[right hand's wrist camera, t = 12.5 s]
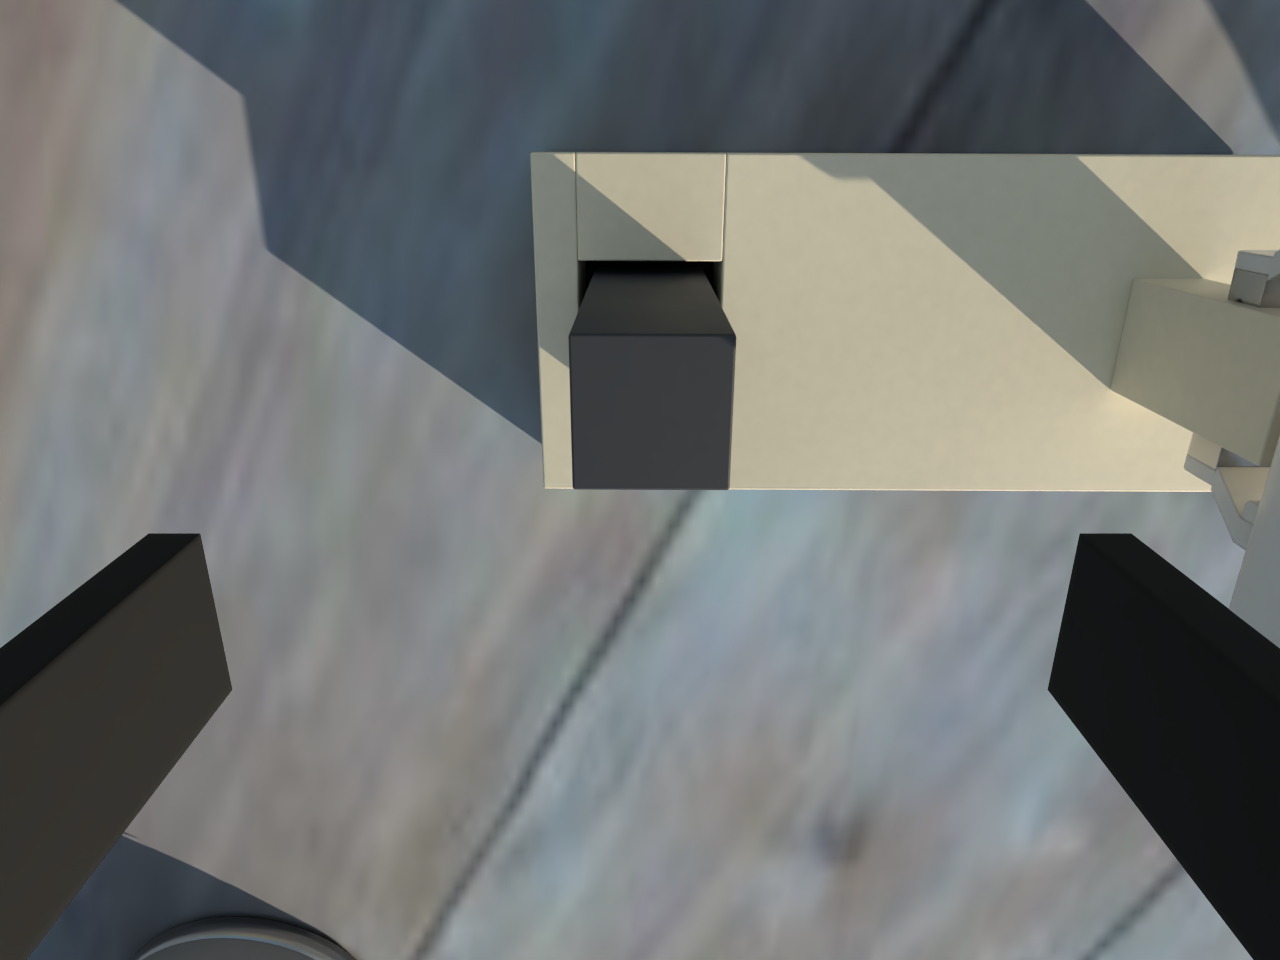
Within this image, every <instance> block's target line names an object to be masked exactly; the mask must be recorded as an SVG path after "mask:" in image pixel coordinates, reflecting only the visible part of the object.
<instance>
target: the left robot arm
mask: <svg viewBox="0 0 1280 960" xmlns="http://www.w3.org/2000/svg"><path fill="white" fill-rule="evenodd" d="M1228 300H1231V301H1235V302H1242V303H1243V304H1247V305H1251V306H1255V307H1258V308H1280V249H1279V250H1240V251H1238V253H1237V258H1236V263H1235V269H1234V273H1233V277H1232V282H1231V286H1230V290H1229V295H1228ZM1187 453H1188V454H1187V455H1186V459H1185V463H1184V469H1185V470H1186V471H1188V472H1189V473H1191V474H1193V475H1194V476H1196V477H1198V478H1199V479H1201V480H1203V481H1204V482H1206V483H1208V484H1209V485H1211V486H1212V487H1211V491H1212V494H1213V496H1214V498H1215V501H1216V503H1217V505H1218V507H1219V510H1220V512H1221V514H1222V517H1223V519H1224V521H1225V524H1226V526H1227V528H1228V531H1229V533H1230V535H1231V538H1232V540H1233V542H1234V543H1236V544H1237V545H1239V546H1240V547H1242V548H1243V549H1244V550H1246V552H1245V555H1244V558H1243V562H1242V565H1241V569H1240V572H1239V575H1238V579H1237V582H1236V586H1235V589H1234V592H1233V596H1232V599H1231V603H1230V606H1229V610H1231V611H1232V612H1233V613H1235V614H1236V615H1237V616H1239V617H1240V618H1241V619H1242V620H1244V621H1245V622H1246V623H1248V624H1249V625H1250V626H1251V627H1253V628H1254V629H1255V630H1257V631H1258V632H1259V633H1261V634H1262V635H1263V636H1264V637H1266V638H1267V639H1268V640H1270V641H1271V642H1272V643H1273V644H1275V645H1276V646H1277V647H1279V648H1280V436H1279V439H1278V443H1277V446H1276V449H1275V453H1274V456H1273V460H1272V463H1271V466H1257V465H1255V464H1254V463H1252V462H1250V461H1248V460H1246V459H1244V458H1242V457H1240V456H1238V455H1236V454H1234V453H1232V452H1230V451H1228V450H1226V449H1224V448H1222V447H1220V446H1219V445H1217V444H1215V443H1213V442H1211V441H1209V440H1207V439H1205V438H1203V437H1201V436H1199V435H1197V434H1195V433H1193V434H1192V437H1191V441H1190V445H1189V448H1188V452H1187Z"/></svg>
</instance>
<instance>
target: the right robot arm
mask: <svg viewBox="0 0 1280 960" xmlns="http://www.w3.org/2000/svg"><path fill="white" fill-rule="evenodd" d="M231 691H232V686H231V681H230V676H229V672H228V667H227V662H226V657H225V652H224V647H223V642H222V638H221V633H220V628H219V623H218V618H217V613H216V608H215V604H214V599H213V594H212V589H211V584H210V579H209V574H208V570H207V565H206V560H205V555H204V550H203V545H202V540H201V535H200V534H148V535H146V536H145V537H144V538H143V539H141V540H140V541H139V542H137V543H136V544H135V545H133V546H132V547H131V548H130V549H128V550H127V551H126V552H124V553H123V554H122V555H121V556H119V557H118V558H117V559H115V560H114V561H113V562H111V563H110V564H109V565H108V566H106V567H105V568H104V569H102V570H101V571H100V572H98V573H97V574H96V575H95V576H93V577H92V578H91V579H89V580H88V581H87V582H86V583H84V584H83V585H82V586H80V587H79V588H78V589H76V590H75V591H74V592H73V593H71V594H70V595H69V596H67V597H66V598H65V599H64V600H62V601H61V602H60V603H58V604H57V605H56V606H54V607H53V608H52V609H51V610H49V611H48V612H47V613H45V614H44V615H43V616H41V617H40V618H39V619H38V620H36V621H35V622H34V623H32V624H31V625H30V626H29V627H27V628H26V629H25V630H23V631H22V632H21V633H19V634H18V635H17V636H16V637H14V638H13V639H12V640H10V641H9V642H8V643H7V644H5V645H4V646H3V647H1V648H0V960H27V958H28V957H29V956H30V954H31V953H32V952H33V950H34V949H35V948H36V946H37V945H38V944H39V942H40V941H41V940H42V939H43V937H44V936H45V935H46V933H47V932H48V931H49V929H50V928H51V927H52V925H53V924H54V923H55V921H56V920H57V919H58V918H59V916H60V915H61V914H62V912H63V911H64V910H65V908H66V907H67V906H68V904H69V903H70V902H71V901H72V899H73V898H74V897H75V895H76V894H77V893H78V891H79V890H80V889H81V887H82V886H83V885H84V883H85V882H86V881H87V880H88V878H89V877H90V876H91V874H92V873H93V872H94V870H95V869H96V868H97V866H98V865H99V864H100V862H101V861H102V860H103V859H104V857H105V856H106V855H107V853H108V852H109V851H110V849H111V848H112V847H113V845H114V844H115V843H116V841H117V840H118V839H119V838H120V836H121V835H122V834H123V832H124V831H125V830H126V828H127V827H128V826H129V824H130V823H131V822H132V820H133V819H134V818H135V817H136V815H137V814H138V813H139V811H140V810H141V809H142V807H143V806H144V805H145V803H146V802H147V801H148V799H149V798H150V797H151V796H152V794H153V793H154V792H155V790H156V789H157V788H158V786H159V785H160V784H161V782H162V781H163V780H164V778H165V777H166V776H167V775H168V773H169V772H170V771H171V769H172V768H173V767H174V765H175V764H176V763H177V761H178V760H179V759H180V757H181V756H182V755H183V754H184V752H185V751H186V750H187V748H188V747H189V746H190V744H191V743H192V742H193V740H194V739H195V738H196V736H197V735H198V734H199V733H200V731H201V730H202V729H203V727H204V726H205V725H206V723H207V722H208V721H209V719H210V718H211V717H212V715H213V714H214V713H215V712H216V710H217V709H218V708H219V706H220V705H221V704H222V702H223V701H224V700H225V698H226V697H227V696H228V694H229V693H230V692H231ZM1048 691H1049V692H1050V693H1051V694H1052V696H1053V697H1054V698H1055V700H1056V701H1057V702H1058V704H1059V705H1060V706H1061V708H1062V709H1063V710H1064V712H1065V713H1066V714H1067V715H1068V717H1069V718H1070V719H1071V721H1072V722H1073V723H1074V725H1075V726H1076V727H1077V729H1078V730H1079V731H1080V733H1081V734H1082V735H1083V736H1084V738H1085V739H1086V740H1087V742H1088V743H1089V744H1090V746H1091V747H1092V748H1093V750H1094V751H1095V752H1096V754H1097V755H1098V756H1099V757H1100V759H1101V760H1102V761H1103V763H1104V764H1105V765H1106V767H1107V768H1108V769H1109V771H1110V772H1111V773H1112V775H1113V776H1114V777H1115V778H1116V780H1117V781H1118V782H1119V784H1120V785H1121V786H1122V788H1123V789H1124V790H1125V792H1126V793H1127V794H1128V796H1129V797H1130V798H1131V799H1132V801H1133V802H1134V803H1135V805H1136V806H1137V807H1138V809H1139V810H1140V811H1141V813H1142V814H1143V815H1144V817H1145V818H1146V819H1147V820H1148V822H1149V823H1150V824H1151V826H1152V827H1153V828H1154V830H1155V831H1156V832H1157V834H1158V835H1159V836H1160V838H1161V839H1162V840H1163V841H1164V843H1165V844H1166V845H1167V847H1168V848H1169V849H1170V851H1171V852H1172V853H1173V855H1174V856H1175V857H1176V859H1177V860H1178V861H1179V862H1180V864H1181V865H1182V866H1183V868H1184V869H1185V870H1186V872H1187V873H1188V874H1189V876H1190V877H1191V878H1192V880H1193V881H1194V882H1195V883H1196V885H1197V886H1198V887H1199V889H1200V890H1201V891H1202V893H1203V894H1204V895H1205V897H1206V898H1207V899H1208V901H1209V902H1210V903H1211V904H1212V906H1213V907H1214V908H1215V910H1216V911H1217V912H1218V914H1219V915H1220V916H1221V918H1222V919H1223V920H1224V921H1225V923H1226V924H1227V925H1228V927H1229V928H1230V929H1231V931H1232V932H1233V933H1234V935H1235V936H1236V937H1237V939H1238V940H1239V941H1240V942H1241V944H1242V945H1243V946H1244V948H1245V949H1246V950H1247V952H1248V953H1249V954H1250V956H1251V957H1252V958H1253V960H1280V648H1279V647H1277V646H1276V645H1275V644H1273V643H1272V642H1271V641H1270V640H1268V639H1267V638H1266V637H1264V636H1263V635H1262V634H1261V633H1259V632H1258V631H1257V630H1255V629H1254V628H1253V627H1251V626H1250V625H1249V624H1248V623H1246V622H1245V621H1244V620H1242V619H1241V618H1240V617H1239V616H1237V615H1236V614H1235V613H1233V612H1232V611H1231V610H1229V609H1228V608H1227V607H1226V606H1224V605H1223V604H1222V603H1220V602H1219V601H1218V600H1216V599H1215V598H1214V597H1213V596H1211V595H1210V594H1209V593H1207V592H1206V591H1205V590H1204V589H1202V588H1201V587H1200V586H1198V585H1197V584H1196V583H1194V582H1193V581H1192V580H1191V579H1189V578H1188V577H1187V576H1185V575H1184V574H1183V573H1182V572H1180V571H1179V570H1178V569H1176V568H1175V567H1174V566H1172V565H1171V564H1170V563H1169V562H1167V561H1166V560H1165V559H1163V558H1162V557H1161V556H1159V555H1158V554H1157V553H1156V552H1154V551H1153V550H1152V549H1150V548H1149V547H1148V546H1147V545H1145V544H1144V543H1143V542H1141V541H1140V540H1139V539H1137V538H1136V537H1135V536H1134V535H1132V534H1080V535H1079V540H1078V545H1077V550H1076V555H1075V560H1074V565H1073V570H1072V574H1071V579H1070V584H1069V589H1068V594H1067V599H1066V604H1065V608H1064V613H1063V618H1062V623H1061V628H1060V633H1059V638H1058V642H1057V647H1056V652H1055V657H1054V662H1053V667H1052V672H1051V676H1050V681H1049V686H1048ZM133 960H356V959H355V958H354V957H353V956H352V955H350V954H349V953H347V952H346V951H345V950H343V949H342V948H340V947H339V946H337V945H335V944H334V943H332V942H330V941H329V940H327V939H325V938H323V937H321V936H319V935H317V934H314V933H312V932H309V931H307V930H305V929H302V928H299V927H296V926H293V925H289V924H285V923H281V922H278V921H272V920H267V919H260V918H252V917H217V918H208V919H203V920H197V921H193V922H190V923H186V924H183V925H180V926H177V927H175V928H172V929H170V930H168V931H166V932H164V933H162V934H160V935H159V936H157V937H155V938H154V939H152V940H151V941H150V942H149V943H147V944H146V945H145V946H144V947H143V948H142V949H141V950H140V951H139V952H138V953H137V954H136V956H135V957H134V958H133Z"/></svg>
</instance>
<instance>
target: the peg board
mask: <svg viewBox="0 0 1280 960" xmlns="http://www.w3.org/2000/svg"><path fill="white" fill-rule="evenodd" d="M530 163H531V188H532V212H533V237H534V262H535V286H536V311H537V336H538V360H539V385H540V410H541V434H542V459H543V484H544V488H568V489H573V484H572V448H571V411H570V375H569V339H568V336H569V333H570V331H571V328H572V326H573V324H574V321H575V319H576V316H577V314H578V311H579V309H580V306H581V304H582V301H583V299H584V296H585V294H586V275H585V261H713V285H712V289H713V291H714V293H715V295H716V297H717V299H718V301H719V303H720V305H721V307H722V309H723V311H724V313H725V315H726V317H727V319H728V321H729V323H730V325H731V327H732V329H733V331H734V333H735V335H736V357H735V379H734V402H733V424H732V446H731V468H730V488H729V489H779V490H975V491H1172V492H1212V491H1211V487H1212V486H1211V485H1209V484H1208V483H1206V482H1204V481H1203V480H1201V479H1199V478H1198V477H1196V476H1194V475H1193V474H1191V473H1189V472H1188V471H1186V470H1185V469H1184V463H1185V459H1186V455H1187V454H1188V453H1187V452H1188V448H1189V445H1190V441H1191V437H1192V434H1193V433H1195V434H1197V435H1199V436H1201V437H1203V438H1205V439H1207V440H1209V441H1211V442H1213V443H1215V444H1217V445H1219V446H1220V447H1222V448H1224V449H1226V450H1228V451H1230V452H1232V453H1234V454H1236V455H1238V456H1240V457H1242V458H1244V459H1246V460H1248V461H1250V462H1252V463H1254V464H1255V465H1257V466H1271V463H1272V460H1273V456H1274V453H1275V449H1276V446H1277V443H1278V439H1279V436H1280V308H1258V307H1255V306H1251V305H1247V304H1243V303H1242V302H1235V301H1231V300H1228V295H1229V290H1230V286H1231V282H1232V277H1233V273H1234V269H1235V263H1236V258H1237V253H1238V251H1240V250H1279V249H1280V155H1208V154H967V153H725V152H719V153H716V152H531V153H530Z"/></svg>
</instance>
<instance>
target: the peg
mask: <svg viewBox="0 0 1280 960" xmlns="http://www.w3.org/2000/svg"><path fill="white" fill-rule="evenodd" d="M568 339H569V375H570V411H571V448H572V484H573V489H620V490H728V489H729V488H730V468H731V446H732V424H733V402H734V379H735V357H736V335H735V333H734V331H733V329H732V327H731V325H730V323H729V321H728V319H727V317H726V315H725V313H724V311H723V309H722V307H721V305H720V303H719V301H718V299H717V297H716V295H715V293H714V291H713V289H712V287H711V285H710V283H709V281H708V279H707V277H706V275H705V273H704V271H703V269H702V267H701V265H700V263H699V262H598V264H597V266H596V269H595V271H594V274H593V276H592V279H591V281H590V284H589V286H588V289H587V291H586V294H585V296H584V299H583V301H582V304H581V306H580V309H579V311H578V314H577V316H576V319H575V321H574V324H573V326H572V328H571V331H570V333H569V336H568Z"/></svg>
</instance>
